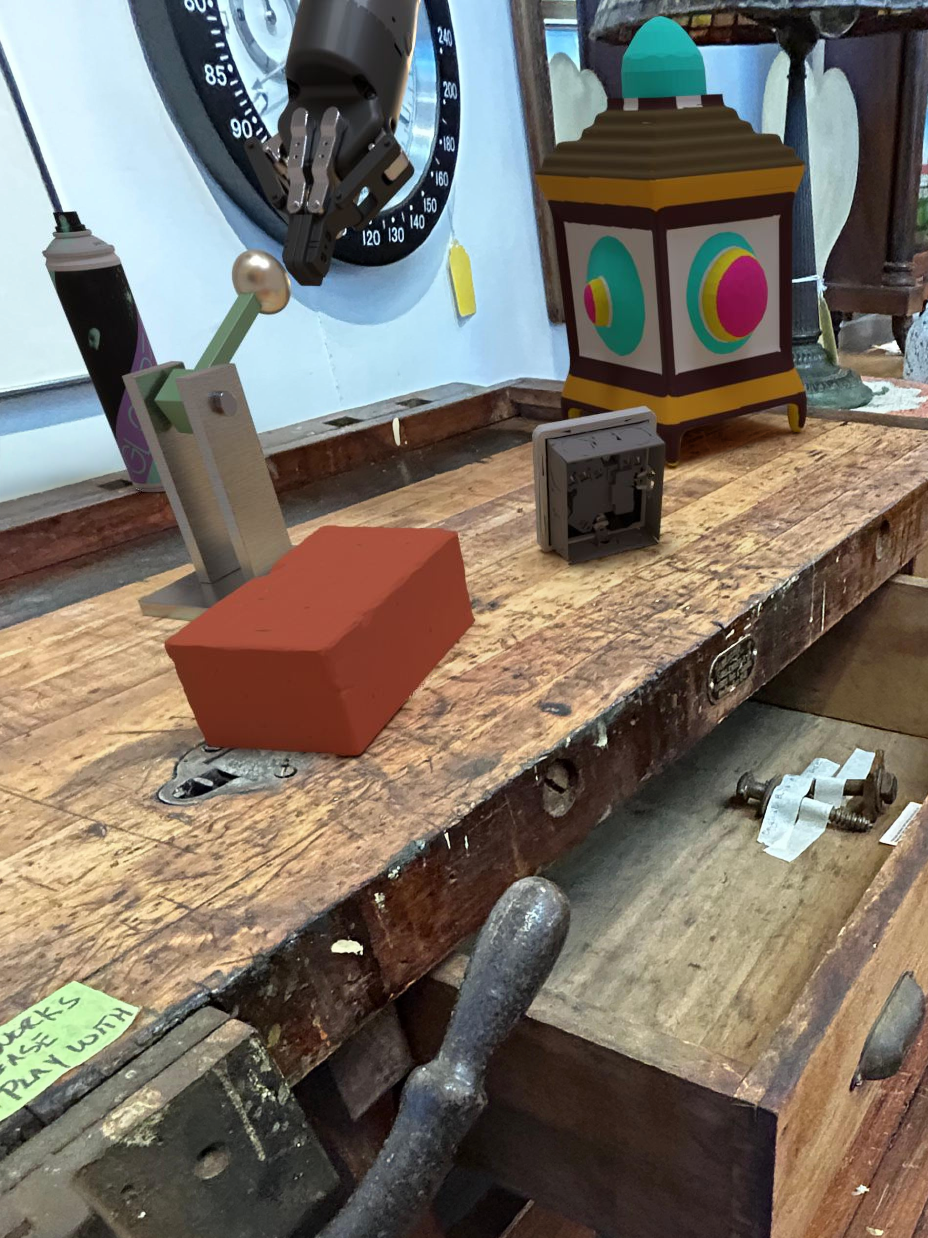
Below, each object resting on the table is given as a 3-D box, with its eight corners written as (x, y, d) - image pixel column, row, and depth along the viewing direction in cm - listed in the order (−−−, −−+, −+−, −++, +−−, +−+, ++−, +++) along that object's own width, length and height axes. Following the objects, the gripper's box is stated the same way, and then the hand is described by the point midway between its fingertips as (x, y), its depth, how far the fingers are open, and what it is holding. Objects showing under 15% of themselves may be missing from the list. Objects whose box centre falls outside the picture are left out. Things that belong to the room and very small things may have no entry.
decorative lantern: (544, 436, 102) (485, 23, 82) (696, 399, 111) (677, 22, 91) (669, 475, 90) (636, 7, 70) (827, 431, 100) (838, 7, 80)
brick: (359, 758, 54) (325, 649, 50) (204, 749, 55) (159, 642, 51) (477, 622, 67) (458, 527, 63) (350, 617, 69) (323, 524, 65)
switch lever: (266, 290, 71) (234, 236, 68) (309, 291, 70) (279, 236, 67) (176, 441, 66) (137, 391, 63) (222, 443, 65) (184, 393, 62)
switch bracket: (257, 557, 78) (186, 347, 69) (357, 566, 76) (298, 351, 67) (144, 618, 70) (46, 388, 60) (254, 631, 67) (170, 394, 58)
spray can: (144, 496, 91) (34, 216, 77) (127, 483, 94) (18, 212, 81) (206, 483, 93) (110, 209, 80) (187, 470, 97) (91, 205, 83)
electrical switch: (646, 527, 80) (640, 397, 74) (678, 552, 77) (675, 419, 71) (536, 553, 77) (519, 419, 70) (566, 580, 74) (551, 443, 67)
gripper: (239, -7, 70) (184, 235, 70) (406, -18, 67) (350, 236, 66) (309, 93, 77) (260, 313, 77) (463, 88, 74) (413, 318, 74)
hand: (302, 277), depth 72 cm, fingers closed
